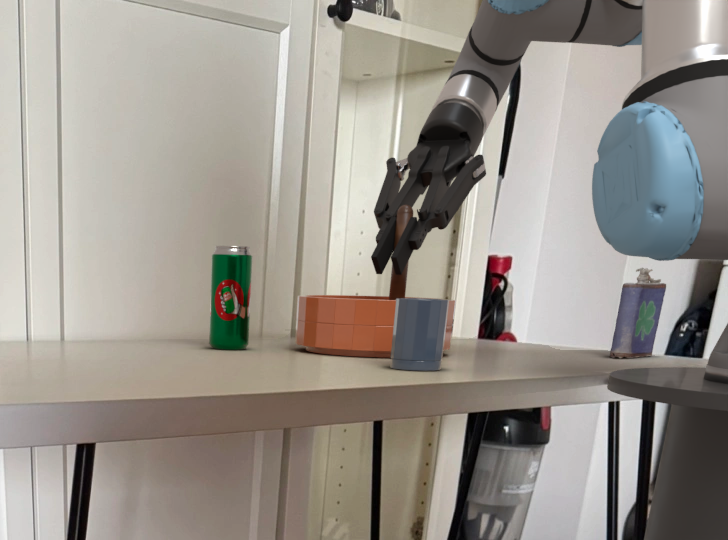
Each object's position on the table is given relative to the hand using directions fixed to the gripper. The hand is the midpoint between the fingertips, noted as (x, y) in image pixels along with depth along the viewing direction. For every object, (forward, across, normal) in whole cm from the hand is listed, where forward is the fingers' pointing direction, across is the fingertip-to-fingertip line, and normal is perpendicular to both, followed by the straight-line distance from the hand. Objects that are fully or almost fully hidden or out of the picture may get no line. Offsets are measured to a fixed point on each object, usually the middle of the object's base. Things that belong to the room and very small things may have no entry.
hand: (386, 265), depth 126 cm
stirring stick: (+2, 0, -8) cm, 8 cm away
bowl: (+6, +2, -8) cm, 10 cm away
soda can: (+14, +17, -1) cm, 22 cm away
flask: (-10, -25, -24) cm, 36 cm away
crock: (+19, -12, +4) cm, 23 cm away
